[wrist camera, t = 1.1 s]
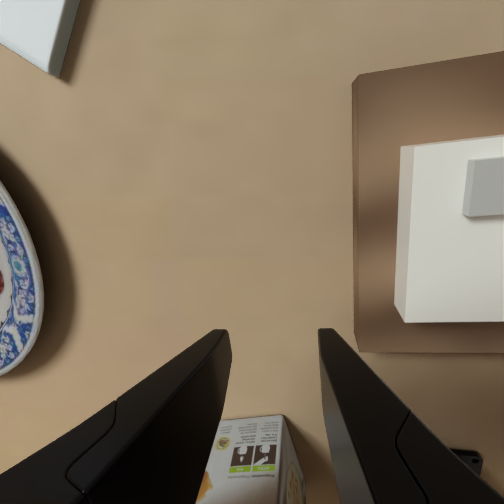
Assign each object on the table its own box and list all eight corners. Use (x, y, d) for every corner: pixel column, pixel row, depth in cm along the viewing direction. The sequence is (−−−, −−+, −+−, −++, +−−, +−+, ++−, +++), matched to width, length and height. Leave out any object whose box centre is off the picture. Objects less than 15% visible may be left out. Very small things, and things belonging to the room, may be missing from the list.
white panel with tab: (508, 301, 17) (542, 327, 14) (394, 304, 18) (408, 329, 16) (539, 130, 14) (588, 127, 11) (400, 146, 15) (419, 147, 13)
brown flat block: (548, 331, 19) (577, 353, 17) (353, 332, 21) (359, 352, 19) (617, 41, 14) (671, 23, 12) (352, 83, 16) (358, 74, 14)
